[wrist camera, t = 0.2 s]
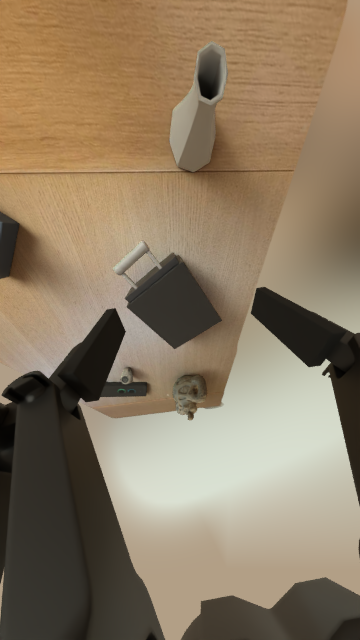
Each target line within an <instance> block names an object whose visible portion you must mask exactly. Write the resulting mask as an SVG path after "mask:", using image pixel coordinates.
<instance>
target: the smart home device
mask: <svg viewBox="0 0 360 640" xmlns="http://www.w3.org/2000/svg"><path fill="white" fill-rule="evenodd" d="M146 392H147V383H146V382H131V383H129V384H123V383H122V382H106V383H105V385H104V388H103V391H102V393H101V396H100V397H126V396H146Z"/></svg>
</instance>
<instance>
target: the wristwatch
mask: <svg viewBox="0 0 360 640" xmlns="http://www.w3.org/2000/svg"><path fill="white" fill-rule="evenodd" d="M120 380H121V382H122V383H123V384H129V383H131V382H132V380H133V374H132V371H131V369H130V368H125V369H124V370H123V374H122V376H121V378H120Z"/></svg>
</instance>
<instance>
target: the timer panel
mask: <svg viewBox="0 0 360 640" xmlns="http://www.w3.org/2000/svg"><path fill="white" fill-rule="evenodd" d="M18 228H19V223H17V222H16V221H14V220H12V219H11V218H9V217H8V216H6V215H5V214H3V213H1V212H0V279H1V278H5V277H8V276H9V274H10V269H11V264H12V259H13V254H14V249H15V244H16V238H17V233H18Z"/></svg>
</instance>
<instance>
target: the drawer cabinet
mask: <svg viewBox="0 0 360 640" xmlns="http://www.w3.org/2000/svg"><path fill="white" fill-rule="evenodd" d="M176 257H177V259H178V261H179V263H178V264H177V265H176V266H175V267H173V269H171V270H170V271H168V272H167V273H166V274H165V275H163V276H162V277H161V278H160V279H158V280H157V281H156V282H155V283H153V284H152V285H151V286H150V287H149V288H147V289H146V290H145V291H144V292H142V293H141V294H140V295H139V296H137V297H136V298H135V299H134V300H132V301H131V302H130V303H128V305H127V308H128V309H130V310H131V311H132V312H133V313H134V314H135V315H136V316H138V317H139V318H140V319H141V320H142V321H143V322H144V323H146V324H147V325H148V326H149V327H150V328H151V329H152V330H154V331H155V332H156V333H157V334H158V335H159V336H160V337H161V338H163V339H164V340H165V341H166V342H167V343H168V344H169V345H171V346H172V347H173V348H174V349H176V348H177V347H179V346H181V345H182V344H184V343H186V342H187V341H189V340H191V339H192V338H194V337H196V336H197V335H199V334H201V333H202V332H204V331H206V330H207V329H209V328H211V327H212V326H214V325H216V324H217V323H219V322H221V321H222V320H221V318H220V317H219V315H218V314H217V312H216V311H215V309H214V308H213V306H212V305H211V303H210V302H209V300H208V299H207V297H206V296H205V294H204V293H203V291H202V290H201V288H200V287H199V285H198V284H197V282H196V281H195V279H194V278H193V276H192V275H191V273H190V272H189V270H188V269H187V267H186V266H185V264H184V263H183V261H182V259H181V258H180V256H179V255H177V256H176Z"/></svg>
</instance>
